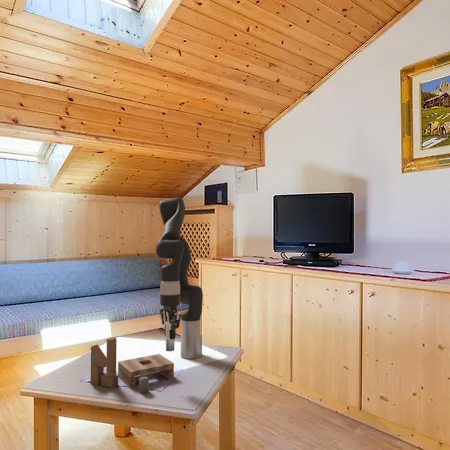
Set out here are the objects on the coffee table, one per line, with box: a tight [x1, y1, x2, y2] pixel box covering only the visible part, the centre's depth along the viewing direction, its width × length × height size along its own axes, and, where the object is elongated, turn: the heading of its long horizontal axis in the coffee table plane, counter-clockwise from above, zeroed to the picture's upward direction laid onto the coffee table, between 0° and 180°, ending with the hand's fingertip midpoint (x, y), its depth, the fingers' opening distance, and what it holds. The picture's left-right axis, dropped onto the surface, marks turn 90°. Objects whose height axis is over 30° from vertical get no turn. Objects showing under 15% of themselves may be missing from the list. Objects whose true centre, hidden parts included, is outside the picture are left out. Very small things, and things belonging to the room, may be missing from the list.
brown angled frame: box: [90, 336, 119, 389], centre depth 149 cm, size 4×11×18 cm, turn 65°
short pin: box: [139, 376, 150, 395], centre depth 141 cm, size 3×3×5 cm
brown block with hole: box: [117, 353, 175, 389], centre depth 156 cm, size 18×14×6 cm
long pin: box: [165, 320, 175, 352], centre depth 147 cm, size 3×3×11 cm
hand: (170, 337), depth 147 cm, fingers closed on long pin, 3 cm apart
